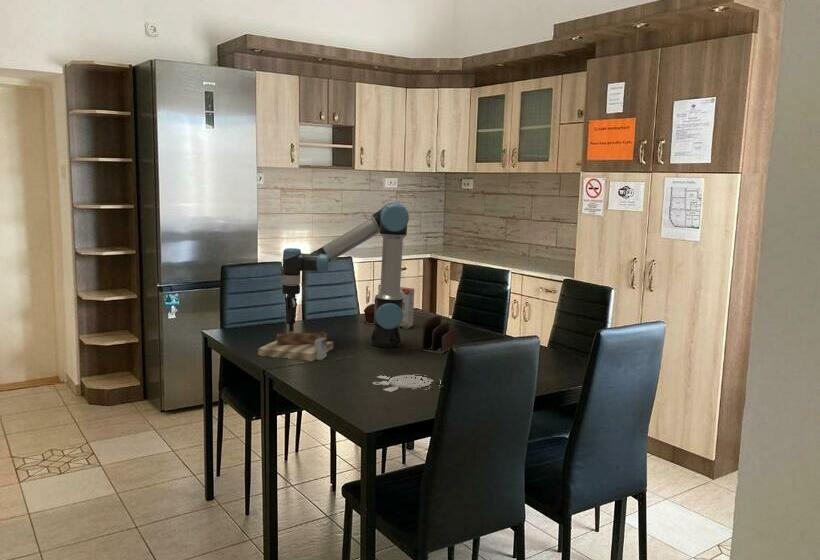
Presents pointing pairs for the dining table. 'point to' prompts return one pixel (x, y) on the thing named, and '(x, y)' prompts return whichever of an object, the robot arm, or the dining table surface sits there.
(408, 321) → the cracker box
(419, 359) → the dining table surface
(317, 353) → the stop post
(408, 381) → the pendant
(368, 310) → the muffin
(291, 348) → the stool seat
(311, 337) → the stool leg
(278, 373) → the dining table surface
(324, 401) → the dining table surface
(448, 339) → the letter holder
